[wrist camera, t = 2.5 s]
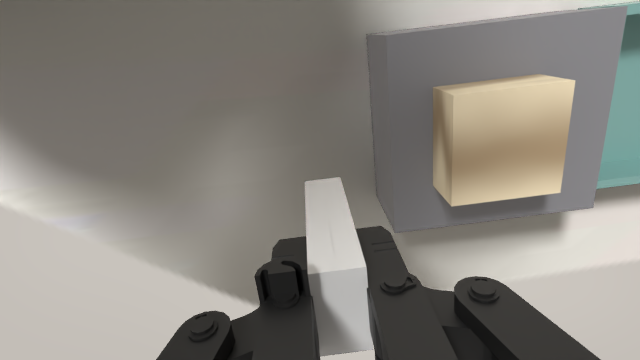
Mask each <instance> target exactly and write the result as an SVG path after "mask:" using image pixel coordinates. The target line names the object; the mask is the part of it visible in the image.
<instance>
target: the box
mask: <svg viewBox="0 0 640 360" xmlns="http://www.w3.org/2000/svg"><path fill="white" fill-rule="evenodd" d="M620 6H628V8H627V14H626V20H625V26H624V32H623V37H622V43H621V49H620V55H619V61H618V66H617V72H616V78H615V84H614V90H613V95H612V101H611V107H610V113H609V118H608V124H607V130H606V136H605V142H604V147H603V153H602V159H601V165H600V171H599V176H598V182H597V188H596V189H600V188H607V187H615V186H623V185H631V184H639V183H640V1H637V2H629V3H621V4H613V5H605V6H596V7H588V8H580V9H578V10H581V9H594V8H607V7H620Z"/></svg>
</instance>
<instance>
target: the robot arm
mask: <svg viewBox="0 0 640 360" xmlns="http://www.w3.org/2000/svg"><path fill="white" fill-rule="evenodd" d="M305 210H306V236H305V237H297V238H289V239H281V240H279V241H278V243H277V244H276V245H275V246H274V247H273V251H272V259H271V261H270V262H268V263H266V264H264V265H263V266H262V267H261V268H259V269H258V270H257V272H256V274H255V281H256V285H257V290H258V295H259V300H260V307H259V308H258V309H256V310H255V311H253V312H252V313H250V314H247V315H245V316H243V317H240V318H237V319H235V320H232V321H230V318H229V316H227V315H226V314H225V313H223V312H218V311H209V312H203V313H201V314H198V315H195V316H193V317H192V318H190V319H188V320H187V321H185V323H183V324H182V326H181V327H180V328H179V329H178V330H177V332H176V333H175V334H174V336H173V337H172V338H171V340H170V341H169V343H168V344H167V346H166V347H165V348H164V350H163V351H162V352H161V354H160V355H159V357H158V358H157V359H156V360H320V356H326V355H334V354H342V353H350V352H358V351H366V350H373V345H374V349H375V360H600V359H599V358H598V357H596V356H595V355H594V354H593V353H591V352H590V351H589V350H587V349H586V348H585V347H584V346H583V345H581V344H580V343H579V342H577V341H576V340H575V339H574V338H572V337H571V336H570V335H568V334H567V333H566V332H565V331H563V330H562V329H561V328H559V327H558V326H557V325H556V324H554V323H553V322H552V321H551V320H549V319H548V318H547V317H545V316H544V315H543V314H541V313H540V312H539V311H538V310H536V309H535V308H534V307H533V306H531V305H530V304H529V303H528V302H526V301H525V300H524V299H522V298H521V297H520V296H519V295H517V294H516V293H515V292H513V291H512V290H511V289H510V288H508V287H507V286H506V285H504V284H502V283H501V282H499V281H497V280H494V279H490V278H487V277H477V276H475V277H468V278H464V279H462V280H460V281H458V283H457V284H456V285H455V287H454V292H452V291H441V290H434V289H430V288H427V287H423V286H422V285H421V283H420V281H419V280H418V279H417V278H416V277H415V276H413V275H412V274H410V273H408V270H407V268H406V266H405V264H404V262H403V260H402V257H401V255H400V253H399V251H398V250H397V246H396V244H395V243H394V240H393V238H392V236H391V233H390V232H389V231H387V230H386V229H384V228H383V227H382V226H377V227H369V228H361V229H355V226H354V222H353V219H352V215H351V212H350V208H349V205H348V201H347V198H346V195H345V191H344V188H343V184H342V181H341V177H335V178H327V179H319V180H311V181H305Z"/></svg>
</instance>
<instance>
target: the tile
mask: <svg viewBox="0 0 640 360" xmlns="http://www.w3.org/2000/svg"><path fill="white" fill-rule="evenodd" d="M574 88H575V80H570V79H564V78H559V77H553V76H547V75H542V74H535V75H527V76H519V77H510V78H502V79H494V80H486V81H478V82H470V83H462V84H454V85H445V86H437V87H433V186H434V187H435V188H436V190H437V191H438V192H439V193H440V194H441V195H442V196H443V197H444V199H445V200H446V201H447V202H448V203H449V204H450V205H451V207H452V206H460V205H468V204H476V203H483V202H491V201H499V200H507V199H515V198H523V197H531V196H539V195H546V194H554V193H560V192H561V184H562V177H563V169H564V162H565V154H566V147H567V140H568V132H569V125H570V117H571V110H572V102H573V95H574Z"/></svg>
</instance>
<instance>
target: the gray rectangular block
mask: <svg viewBox="0 0 640 360" xmlns="http://www.w3.org/2000/svg"><path fill="white" fill-rule="evenodd" d="M627 8H628V6H620V7H607V8H594V9H581V10H568V11H555V12H547V13H539V14H530V15H522V16H514V17H506V18H497V19H489V20H481V21H473V22H464V23H456V24H448V25H440V26H432V27H423V28H415V29H407V30H399V31H390V32H382V33H374V34H367V49H368V65H369V81H370V97H371V113H372V129H373V145H374V161H375V177H376V193H377V197H378V199H379V201H380V204H381V206H382V208H383V210H384V212H385V214H386V216H387V218H388V220H389V222H390V224H391V226H392V228H393V230H394V232H395V233H400V232H407V231H415V230H423V229H431V228H439V227H447V226H455V225H462V224H470V223H478V222H486V221H494V220H502V219H509V218H517V217H525V216H533V215H541V214H549V213H556V212H564V211H572V210H580V209H588V208H593V205H594V200H595V194H596V188H597V182H598V176H599V171H600V165H601V159H602V153H603V147H604V142H605V136H606V130H607V124H608V118H609V113H610V107H611V101H612V95H613V90H614V84H615V78H616V72H617V66H618V61H619V55H620V49H621V43H622V37H623V32H624V26H625V20H626V14H627ZM535 74H542V75H547V76H553V77H559V78H564V79H570V80H575V88H574V95H573V102H572V110H571V117H570V125H569V132H568V140H567V147H566V154H565V162H564V169H563V177H562V184H561V192H560V193H554V194H546V195H539V196H531V197H523V198H515V199H507V200H499V201H491V202H483V203H476V204H468V205H460V206H452V207H451V205H450V204H449V203H448V202H447V201H446V200H445V199H444V197H443V196H442V195H441V194H440V193H439V192H438V191H437V190H436V188H435V187H434V186H433V87H437V86H445V85H454V84H462V83H470V82H478V81H486V80H494V79H502V78H510V77H519V76H527V75H535Z"/></svg>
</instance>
